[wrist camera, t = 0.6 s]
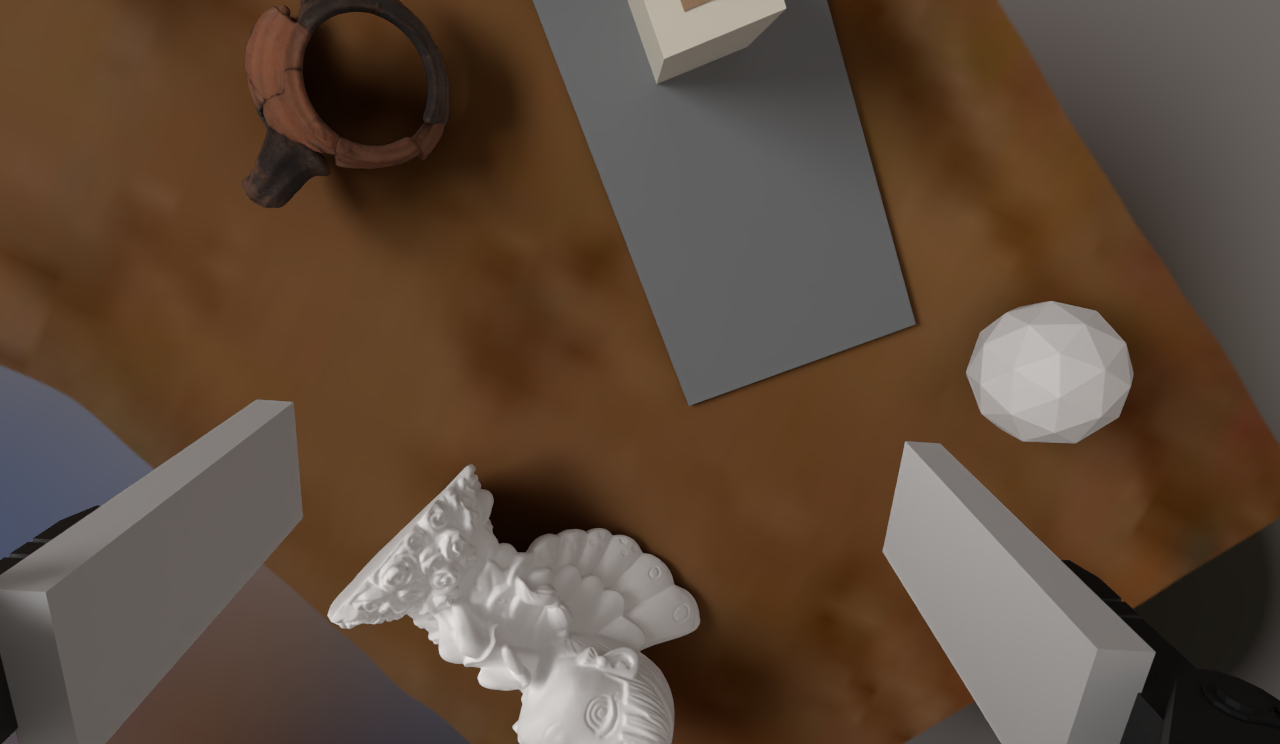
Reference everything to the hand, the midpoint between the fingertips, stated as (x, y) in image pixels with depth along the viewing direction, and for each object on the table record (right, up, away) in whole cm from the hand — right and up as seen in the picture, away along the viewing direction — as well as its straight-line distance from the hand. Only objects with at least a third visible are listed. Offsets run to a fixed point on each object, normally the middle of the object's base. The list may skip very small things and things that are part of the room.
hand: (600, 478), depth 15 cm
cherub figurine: (-5, -11, +31) cm, 34 cm away
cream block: (+3, +20, +21) cm, 29 cm away
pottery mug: (-15, +17, +23) cm, 32 cm away
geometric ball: (+23, +3, +27) cm, 35 cm away
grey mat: (+6, +13, +23) cm, 28 cm away
